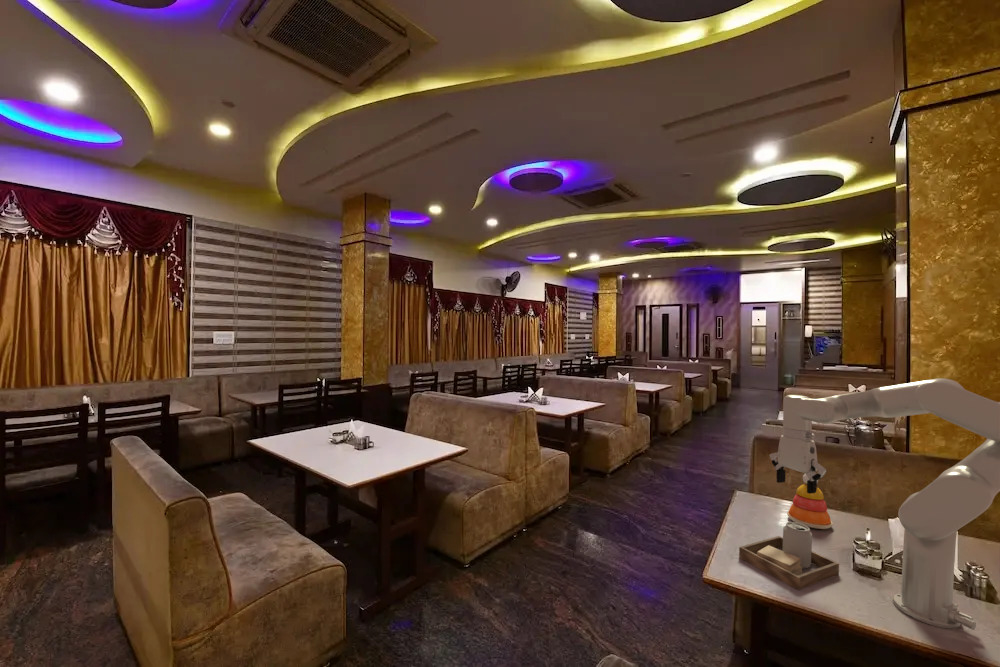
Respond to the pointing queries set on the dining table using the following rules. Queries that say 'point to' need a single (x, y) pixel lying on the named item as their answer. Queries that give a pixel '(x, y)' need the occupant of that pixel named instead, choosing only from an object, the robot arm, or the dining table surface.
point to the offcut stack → (781, 559)
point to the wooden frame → (798, 582)
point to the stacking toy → (809, 508)
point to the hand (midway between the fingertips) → (795, 487)
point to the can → (798, 542)
